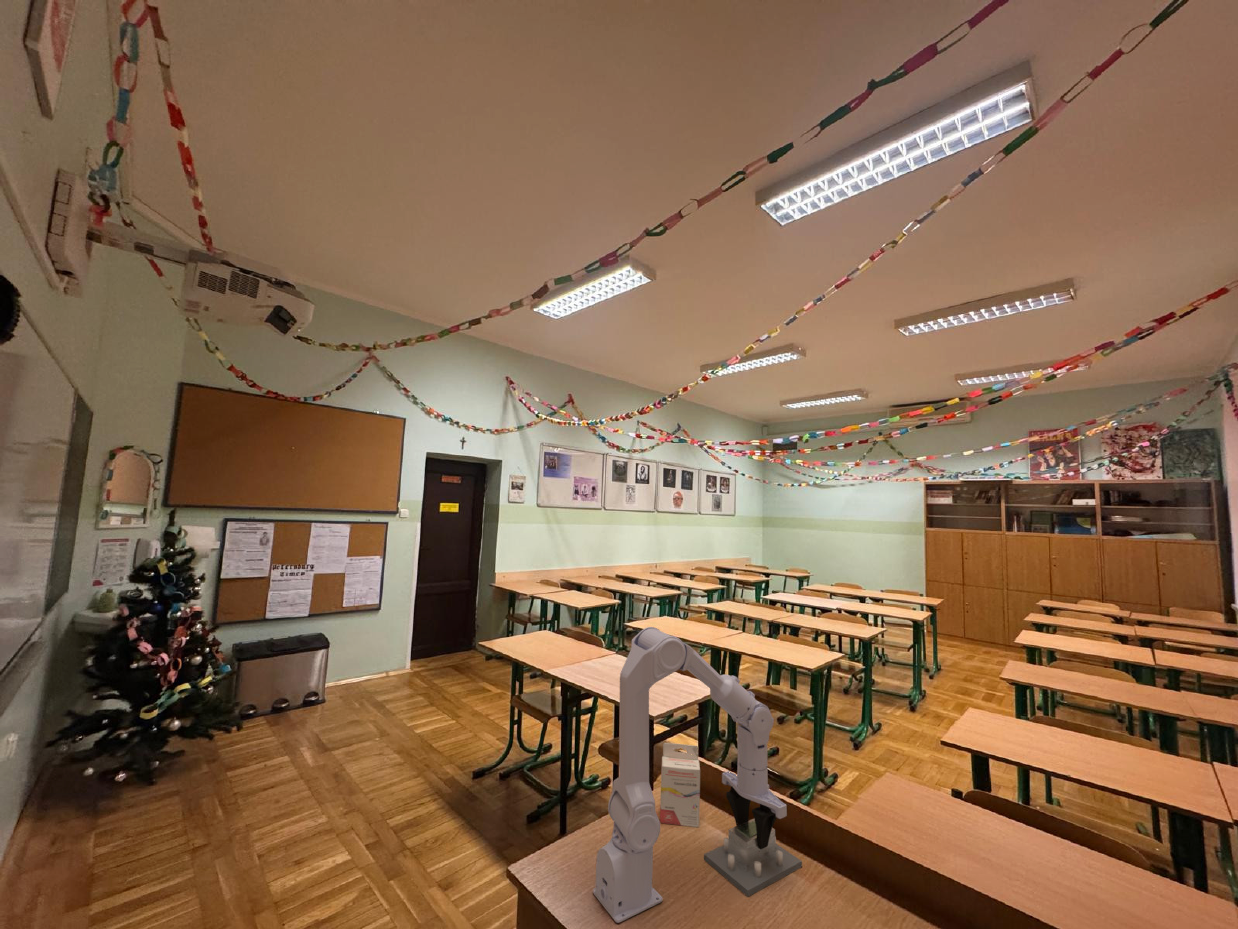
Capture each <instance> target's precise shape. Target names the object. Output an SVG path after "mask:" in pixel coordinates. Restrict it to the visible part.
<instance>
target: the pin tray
mask: <svg viewBox="0 0 1238 929" xmlns="http://www.w3.org/2000/svg"><path fill="white" fill-rule="evenodd" d="M728 846H729V837H728V838H727V837H725V838H723V845H721V846H718V847H717V848H714V849H712V850H709V851H708V852H705V853H704V854H703V860H704V861H705V862H706V863H707V864H708V865H709V866H711V867H712V868H713V869H714V870H715V871H716V872H718V873H719V874H720V875H721V876H722V877H724V878H725V879H726V880H727V881H729V882H730V883H731V884H732V885H733V886H734V887H735V888H737V889H738V890H739V891H740V892H741V893H742V894H743V895H745V896H746V897H747V898H749V897H750V896H753V895H754V894H756V893H758V892H760V891H761V890H763V889H765V888H767V887H769V886H770V885H772V884H774V883H775V882H778V881H779V880H781V879H782V878H785V877H787V876H788V875H790V874H792V873H795V871H797V870H799V869H801V868H802V867H803V861H802V860H801V859H800V858H798V857H797V856H795V855H794V854H792V853H790V852H789V851H788V850H786V849H785V848H783V847H782V846H780V845H779V844H778V843H777V837H776V835H775V858H774V859H772V860H770V861H768V862H766V863H764V864H762V865H761V863H760V862H759V861H755V862H754V869H752V870H750V871H748V872H745V871H744V870H743V869H742V868H740V867H739V866H738V865H737V864H735V863H734V855H732V854H729V855H728Z"/></svg>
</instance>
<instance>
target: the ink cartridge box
mask: <svg viewBox="0 0 1238 929" xmlns="http://www.w3.org/2000/svg"><path fill="white" fill-rule="evenodd" d="M679 749H682V750H683V751H686V752H687V753H686V752H683V751H675V750H679ZM691 754H692V755H691ZM700 766H701V765H700V760H699V746H698V745H693V744H691V745H690V744H684V743H675V742H674V743H672V742H663V744H662V756H661V773H660V775H661V776H660V800H659V801H660V804H659V815H660V816H659V821H660V824H667V825H675V826H677V825H678V826H684V827H691V828H692V827H693V828H699V827H700V805H701V804H700V803H701V801H700V800H701V797H700V796H701V794H700V793H701V767H700Z"/></svg>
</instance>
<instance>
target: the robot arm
mask: <svg viewBox="0 0 1238 929" xmlns="http://www.w3.org/2000/svg"><path fill="white" fill-rule="evenodd" d="M630 644H631V645H630V646H631V647H630V648H631V649H630V651H629V653H628V655H627V657H626V660H625V661H624V664H623V666H622V669H621V670H620V674H619V733H618V734H619V740H618V742H619V744H618V745H619V746H618V748H619V752H618V753H619V755H618V756H619V759H618V771H619V772H618V775H619V776H618V777H617V778H615V779H614V780H613V782H612V791H611V795H610V796H609V800H608V804H607V810H608V811H607V812H608V815H609V817H610V819H611V820H612V821H613V828H612V834H611V838H610V839H609V841H608V842H607V843H606V844H605V845H604V846H602V847H600V848H599V849H598V851H597V853H596V861H595V862H596V865H595V866H596V867H595V887H594V888H593V889H592V894H594V896H595V898H596V899H597V900H598V901H599V903H600V904H601V905H602V906H603V908H604V909H605V910H606V912H607V913H608V914H609V915H610V917H611V918H612V920H614V922H615V923H617V924H618V923H621V922H624V921H625V920H628V919H629V918H631V917H633V916H635V915H638V914H640V913H642V912H643V911H646V910H648V909H650V908H652V907H654V906H656V905H658V904H660V903H662V902H663V896H662V895H661V894H660V893H659V892H658V891H657V890H656V889H655V888H654V887H653V866H654V865H653V860H654V858H653V857H654V855H653V854H654V853H653V852H654V845H655V844H656V843H657V841H658V839H659V836H660V833H661V823H660V817H658V814H657V811H656V800H655V796H654V794H653V791H652V788H651V784H650V688H652V687H653V685H655V684H656V683H658V682H659V681H661V680H663V679H665V678H667V677H668V676H670V675H672V674H674V673H675V672H677V671H678V670H680V671H682V672H685V671H688V672H689V673H690V674H691V675H693V676H694V677H695V678H696V679H697V680H699V681H700V682H701V683H702V684H704V685H705V686H706V687H707V688H709V694H710V697H711V698H710V699H711V700H712V701H714V703H715V704H716V705H718V706H719V707H721V709H723V710H724V711H725V712H726V713H727V714H729V716H731V719H732V720H733V722H734V723H737V732H736V735H737V763H736V764H737V765H736V766H737V771H736V772H737V774H736V773H734V772H732V771H730V770H727V771H725V772H721V783H722V784H723V785H725V786H727V785H728V786H730V789H729V791H727V792H726V793H725V796H726V799H727V801H728V803H729V805H730V808H731V811H732V813H733V816H734V822H735V826H738V825H740V824H742V823H745V822H747V821H749V820H750V819H749V817H750V815H749V814H750V806H751V801H752V802H754V803H757V804H758V805H759V806H758V807H755V808H753V809H751V813H752V815H753V819H755V824H756V831H757V844H758V848H759V849H763V848H765V847H767V846H768V842H769V837H770V834H771V830H772V828H773V827H774V825H775V822H776V821H777V819H778V820H781V819H784V818H785V817H787V816H788V815H787V814H788V813H787V811H788V810H787V804H786V803H784V802H783V801H781V799H779V798H778V796H776V795H775V794H774V792H772V791H771V789H770V784H768V782H769V781H768V780H769V779H768V775H769V774H768V744H769V741H770V733H771V730H772V729H773V726H774V722H775V717H773V716H772V712H771V710H770V708H769V707H768V706H767V705H766V704H764V703H762V702H761V701H758V700H757V699H756V698H755V696H756V695H755V693H754V692H752V691H751V690H746V689H745V688H744V687H743V686H742V685H741V684H740V683H741V680H740V679H739V678H738V676H735V675H729V674H719V673H718V672H717V670H716V669H714V667H713V666H712V665H710V664H709V662H707V661H706V660H705V659H704V657H702V656H701V655H700V654H699V653H698V652H697V651H696V649H694V648H692V647H691V646H690V645H689V644H687V643H686V642H683V640H682V639H680V638H679V637H677V636H675V635H671V634H668V633H666V632H664V631H661V630H660V629H658V628H656V627H654V626H647V627H645V628H643V629H641V630H640V631H639V632H638V633H637V634H636V635H635V636H634V637H633V638H632V639H631V643H630ZM729 772H730V773H729ZM736 775H737V776H736Z"/></svg>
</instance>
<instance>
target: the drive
mask: <svg viewBox="0 0 1238 929" xmlns="http://www.w3.org/2000/svg"><path fill="white" fill-rule="evenodd" d="M775 836H776V829H775V828H773V827H772V830H771V834H770V837H769V842H768V846H767V847H765V848H763V849H759V848H758V844H757V831H756V824H755V819H754V818H752V819H749V821H747V822H745V823H742V824H740V825H738V826H736V825H735V826H733V827H731V828H729V829H728V839H729V846H728V855H729V854H732V855H734V863H735V864H737V865H738V866H739V867H740V868H742V869H743V870H744V871H745V872H748V871H750V870H752V869H754V862H755V861H759V862H760V863H761V865H762V864H764V863H766V862H768V861H770V860H772V859H774V858H775Z"/></svg>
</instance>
